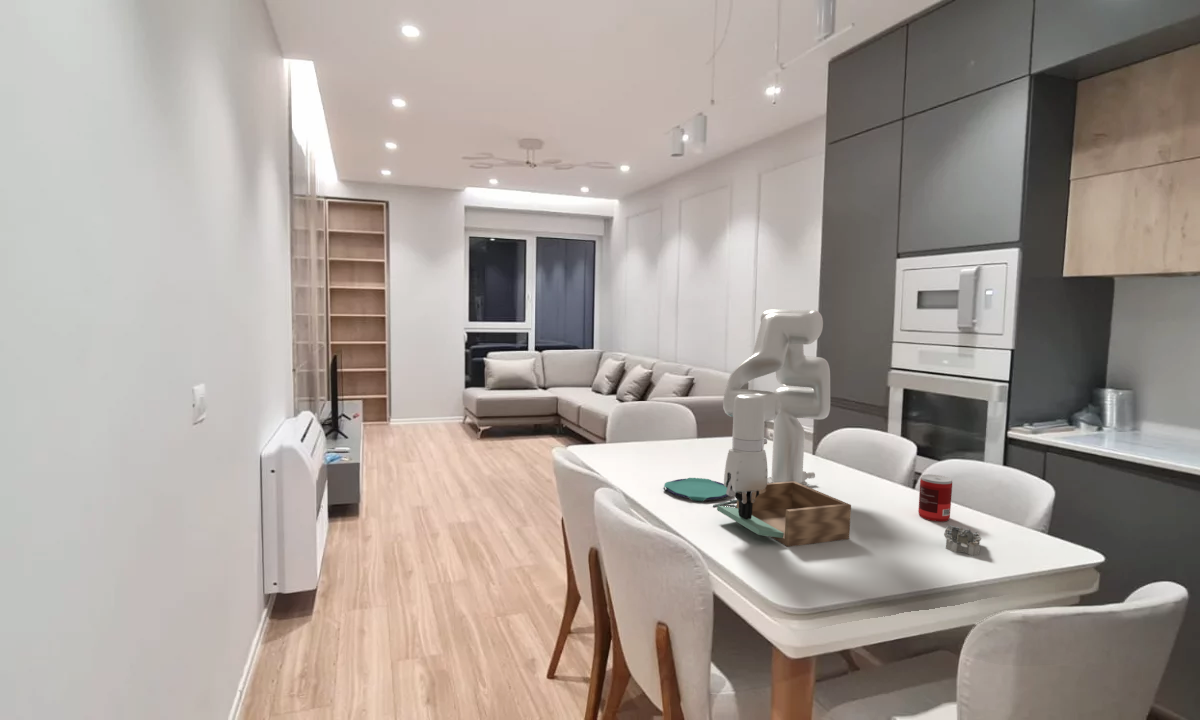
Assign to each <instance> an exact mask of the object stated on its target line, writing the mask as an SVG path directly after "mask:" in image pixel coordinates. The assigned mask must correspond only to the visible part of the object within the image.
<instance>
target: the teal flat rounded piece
mask: <svg viewBox="0 0 1200 720" xmlns="http://www.w3.org/2000/svg"><path fill="white" fill-rule="evenodd" d="M662 489H663V490H664V491H666V490H667V492H669V493H671V494H673V495H675V496H678V497H680V498H687V499H690V500H692V501H693V502H695V501H696V502H704V501H711V500H712V501H713V500H721V499H724V498H726V497H729V496H728V495H727V494H726V491H727V487H725V486H724V482H720V481H716V480H712V479H709V478H701V477H688V478H680V479H674V480H670V481H666V482H665V483H664V485H663V488H662ZM734 503H735V504H736V505H734ZM724 504H725V505H724ZM720 505H721V506H726V507H727V506H730V507H732V508H734V507H735V508H737V499H730V500H729V501H724V502H719V503H715V504H713V505H712V508H716V507H715V506H717V507H718V506H720Z"/></svg>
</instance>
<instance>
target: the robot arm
mask: <svg viewBox="0 0 1200 720" xmlns="http://www.w3.org/2000/svg"><path fill="white" fill-rule="evenodd" d="M823 327H824V319H823V316H822V313H820V312H819V311H818V310H815V309H813V310H811V309H781V308H780V309H779V308H778V309H777V308H776V309H774V308H773V309H767V310H764V312H762V313H761V316H760V324H759V329H758V332H757V336H756V340H755V344H754V348H753V351H752V355H751V356H750V357H748V358H747V359H745V360H744V361H743V362H742V363H740V364H739V365H738V366H737V367H736V368H735V369H734V370H733V371H732V372H731V374H730V375H729V378H728V380H727V384H726V387H725V391H724V393H723V400H722V408H723V412H724V413H725V414H726V415H727V416H729V417H732V443H731V448H730V449H728V452H727V455H726V460H725V467H724V474H723V475H724V476H723V484H724V486H725V487H727V491H726V494H727V495H728V496H727V497H732V498H735V500H738V501H739V509H738V513H739V516H740V517H742V518H744V519H751V518H752V505H753V503H754V502H755V498H756V497H757V496H758V495H759V494H762V493H764V492H765V491H766V489H765V488H766V486H767V483H777V482H789V481H795V482H797V483H800V484H802V485H805V486H807V487H808V482H807V481H806V480H808V479H815V478H816V473H815V472H814V471H812V472H807V471H804V457H805V456H804V453H805V439H806V438H805V435H806V434H805V429H804V427H803V425H802V423H801V422H800V420H798V419H809V420H824V419H826V418H828V416H829V414H830V412H831V370H830V365H829V362H828V360H826V359H825V358H823V357H820V356H806V355H805V354H804V353H805V352H804V345H811V344H813V343H814V342H816V341H817V340H818V339H819V337H820V336H821V334H822V332H823ZM773 373H775V378H776V380H777V382H778V383H779V384H780V385H783V386H781V387H778V388H776V389H775V390H774V391H769V390H758V389H748V388H742V387H743V386H744V385H746V384H747V383H749V382H750V381H753V380H754V379H757V378H761V377H764V376H767V375H769V374H773ZM772 420H773V434H772V435H773V436H772V437H773V439H772V458H771V459H772V461H771V476H769V475H768V474H769V473H768V470H769V469H768V468H769V467H768V458H767V452H766V450H765V449H764V448H765V445H767V444H768V440H767V438H765V426H766V425H765V422H771V421H772ZM768 476H769V477H768Z"/></svg>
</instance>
